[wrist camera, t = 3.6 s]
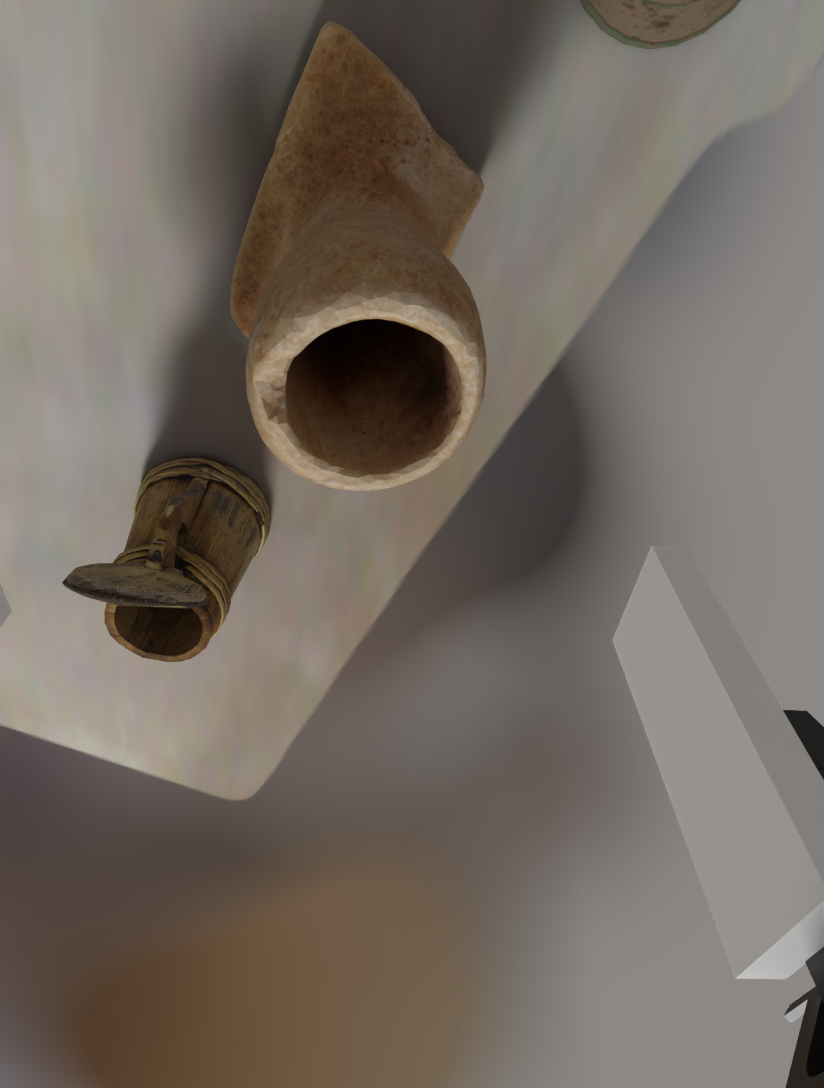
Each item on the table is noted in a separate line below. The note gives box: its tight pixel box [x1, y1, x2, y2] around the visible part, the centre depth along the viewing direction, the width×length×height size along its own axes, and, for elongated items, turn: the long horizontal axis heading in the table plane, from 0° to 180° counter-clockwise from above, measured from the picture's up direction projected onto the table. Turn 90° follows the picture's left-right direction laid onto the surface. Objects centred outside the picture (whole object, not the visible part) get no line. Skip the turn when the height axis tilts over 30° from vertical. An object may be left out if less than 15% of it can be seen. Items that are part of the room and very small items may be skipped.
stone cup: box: [230, 21, 486, 491], centre depth 28 cm, size 15×12×15 cm
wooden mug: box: [63, 458, 270, 662], centre depth 36 cm, size 9×14×18 cm, turn 164°
